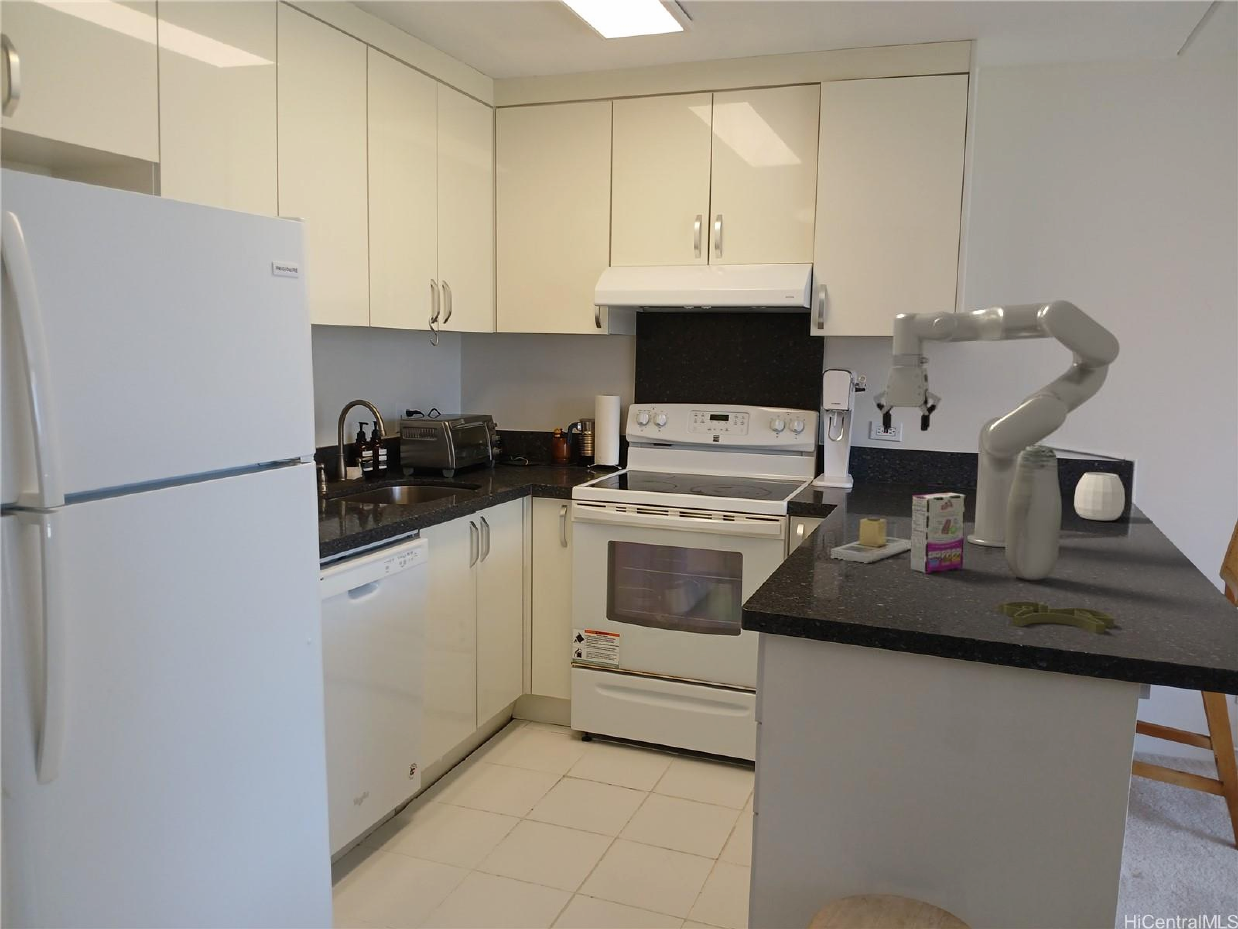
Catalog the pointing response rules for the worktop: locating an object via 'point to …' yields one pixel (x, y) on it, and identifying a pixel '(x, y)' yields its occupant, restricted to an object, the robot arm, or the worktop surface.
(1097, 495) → the white faceted vase
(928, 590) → the worktop surface
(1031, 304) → the robot arm
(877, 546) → the tan hollow block
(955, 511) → the candy bar box
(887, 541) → the white rectangular frame
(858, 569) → the worktop surface
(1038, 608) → the cookie cutter
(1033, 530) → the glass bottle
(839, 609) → the worktop surface
